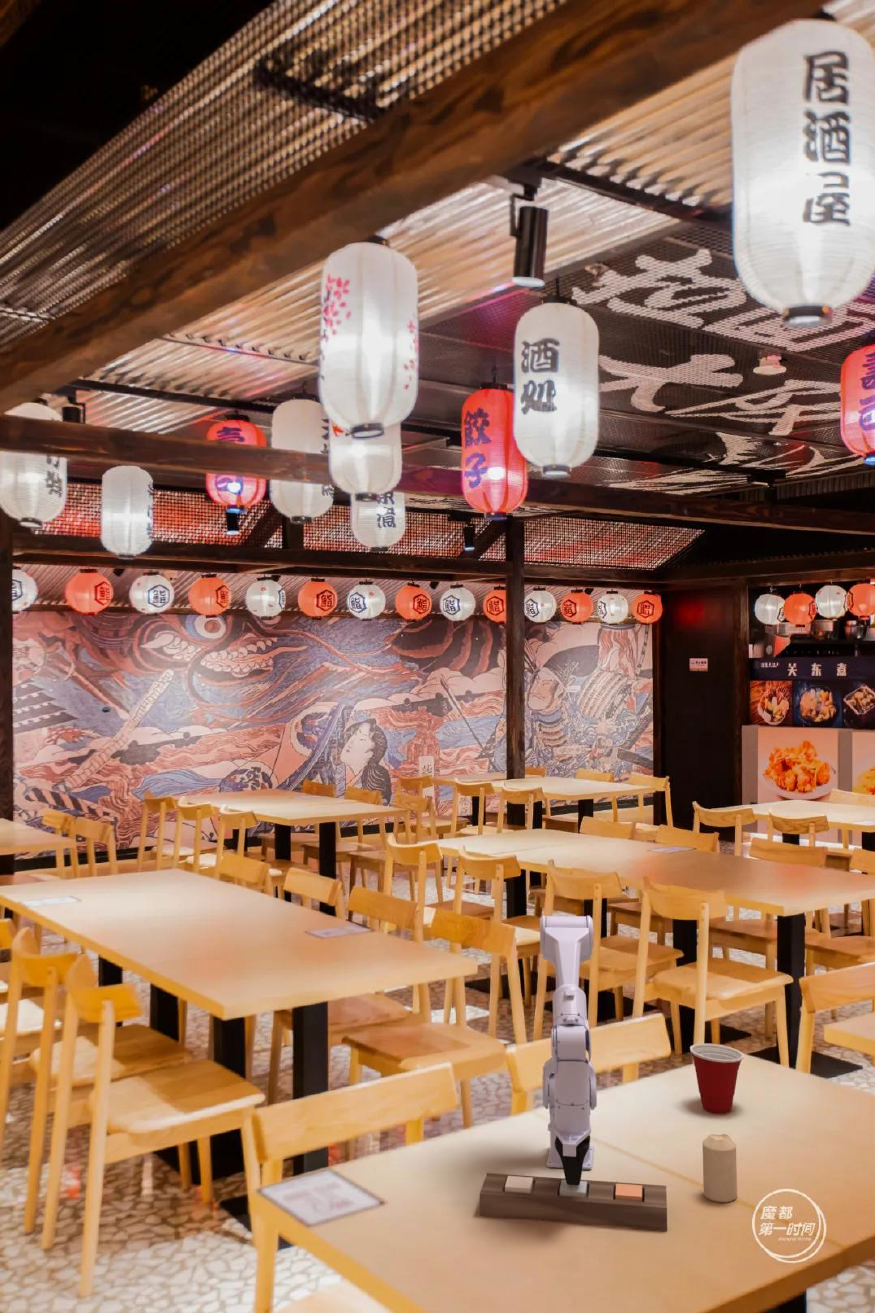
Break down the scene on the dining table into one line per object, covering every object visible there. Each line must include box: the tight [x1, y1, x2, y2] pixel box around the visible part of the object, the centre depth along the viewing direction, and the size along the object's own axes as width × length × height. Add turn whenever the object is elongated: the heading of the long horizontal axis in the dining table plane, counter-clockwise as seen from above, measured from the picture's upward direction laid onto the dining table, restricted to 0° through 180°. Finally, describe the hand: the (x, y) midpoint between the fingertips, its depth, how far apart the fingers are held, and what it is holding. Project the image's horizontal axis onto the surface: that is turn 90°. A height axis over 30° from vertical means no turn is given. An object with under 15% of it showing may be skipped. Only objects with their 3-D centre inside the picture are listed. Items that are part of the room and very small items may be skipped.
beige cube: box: [505, 1176, 533, 1194], centre depth 180 cm, size 4×4×4 cm
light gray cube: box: [560, 1180, 587, 1198], centre depth 179 cm, size 4×4×4 cm
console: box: [479, 1172, 668, 1231], centre depth 179 cm, size 8×30×4 cm, turn 79°
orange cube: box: [615, 1184, 642, 1202], centre depth 177 cm, size 4×4×4 cm
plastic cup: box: [689, 1042, 745, 1115], centre depth 223 cm, size 11×11×12 cm
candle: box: [702, 1133, 738, 1203], centre depth 184 cm, size 6×6×10 cm
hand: (573, 1183), depth 179 cm, fingers closed
